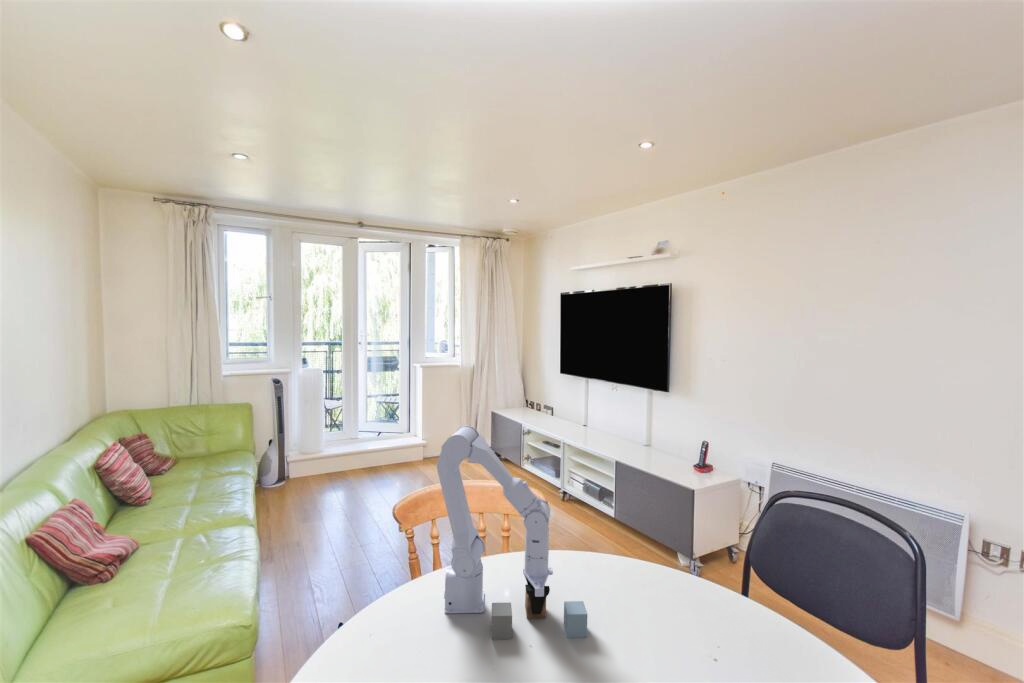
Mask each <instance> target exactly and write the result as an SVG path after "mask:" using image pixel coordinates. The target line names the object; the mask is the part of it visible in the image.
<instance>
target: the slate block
mask: <svg viewBox="0 0 1024 683" xmlns="http://www.w3.org/2000/svg"><path fill="white" fill-rule="evenodd" d="M563 626H564V631H565V635H566V638H568V639H569V638H572V639H573V638H576V639H577V638H587V637H588V612H587V608H586V605H585V602H584V600H583V601H582V600H581V601H579V600H576V601H575V600H573V601H569V600H568V601H566V600H565V601H563Z"/></svg>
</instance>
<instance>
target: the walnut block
mask: <svg viewBox="0 0 1024 683" xmlns="http://www.w3.org/2000/svg"><path fill="white" fill-rule="evenodd" d="M524 598H525V601H524V602H525V604H524V607H525V616H526V619H546V615H547V614H546V613H547V598H546V599H545V601H544V605H543V609H542V612H541V614H532V611H531V604H530V599H529V596H528V594H527V592H526V591H525V597H524Z"/></svg>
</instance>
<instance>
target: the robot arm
mask: <svg viewBox="0 0 1024 683" xmlns="http://www.w3.org/2000/svg"><path fill="white" fill-rule="evenodd" d="M440 446H441V448H440V449H441V450H440V454H439V456H438V460H437V463H436V470H437V474H438V478H439V479H438V480H439V482H440V483H439V484H440V486H441V487H440V488H441V491H442V495H443V500H444V504H445V508H446V512H447V516H448V520H449V521H448V522H449V524H450V528H451V532H452V542H451V549H450V550H451V554H452V555H451V556H452V557H451V562H450V564H451V565H450V566H451V567H447V568H446V569H445V577H444V578H445V580H444V595H443V596H444V597H443V599H444V614H482V613H484V612H485V592H484V590H483V584H484V583H483V580H484V578H483V576H484V565H483V563H482V559H481V558H482V556H483V555H484V553H485V551H486V544H485V542H484V539H482V537H481V536H480V535H479V534H480V533H479V530H478V528H476V527H475V526H474V524H473V521H472V516H471V511H470V508H469V502H468V500H467V494H466V491H465V487H464V483H463V482H464V481H463V479H462V478H463V477H462V473H461V470H460V466H461V465H462V463H463V461H464V460H465V459H468V460H467V461H466V463H468V464H480V465H481V466H482V467H483V468H484V469H485V470H486V471H487V472H488V473H489V474H490V476H492V477H493V478H494V480H495V481H497V482H498V484H500V486H501V487H502V489H503V492H502V494H503V497H504V498H505V499H506V500H507V501H508V503H510V505H511V506H512V507H513V508H514V509H515V510H516V512H517V513H518V514H519V515H520V516H521V517H522V518H523V525H524V528H525V529H526V530H525V536H524V537H525V538H524V539H525V540H524V566H523V569H522V571H523V575H524V577H525V578H524V579H525V580H526V584H525V593H526V592H527V594H528V596H529V599H530V604H531V611H532V614H541V612H542V609H543V605H544V601H545V599H546V600H547V596H549V594H550V591H551V589H550V586H549V585H546V583H547V580H548V577H549V576H552V575H553V574H554V569H553V568H552V567H549V551H550V548H549V547H550V534H549V532H550V528H549V525H550V517H551V508H550V505H549V504H548V501H546V500H544V499H542V498H541V497H537V494H535V493H534V492H533V491H532V490H531V488H530V487H529V486H530V484H529V482H528V481H527V480H524V481H523V479H522V478H521V477H514V476H513V475H512V473H511V472H510V471H509V469H508V468H506V466H505V465H504V464H503V462H502V461H501V460H500V459H499V457H498V455H497V454H496V453H495V452H494V450H493V449H492V448H491V447H490V445H489V444H488V443H487V441H486V439H485V437H484V436H483V435H482V434H479V432H478V430H477V428H475V427H474V426H471V425H463V426H460V427H459V428H458V429H457V430H456V432H454V433H453V434H452V435H450V436H449V437H448V438H447V439H446V440H445V441H444V442H443V444H442V445H440Z"/></svg>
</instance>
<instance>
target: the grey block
mask: <svg viewBox="0 0 1024 683" xmlns="http://www.w3.org/2000/svg"><path fill="white" fill-rule="evenodd" d="M490 621H491V623H490V624H491V630H490V632H491V640H512V639H513V608H512V602H491V620H490Z"/></svg>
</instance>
